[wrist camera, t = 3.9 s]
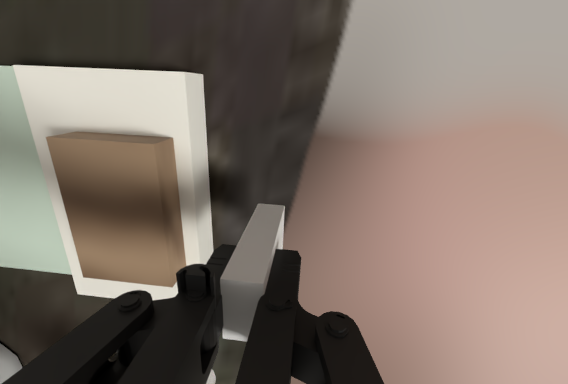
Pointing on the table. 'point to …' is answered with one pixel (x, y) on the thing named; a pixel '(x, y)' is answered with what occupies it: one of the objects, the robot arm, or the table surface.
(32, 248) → the mat
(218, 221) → the table surface
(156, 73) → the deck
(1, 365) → the flask
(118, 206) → the walnut tile
